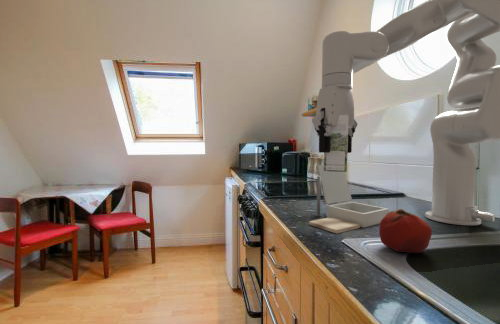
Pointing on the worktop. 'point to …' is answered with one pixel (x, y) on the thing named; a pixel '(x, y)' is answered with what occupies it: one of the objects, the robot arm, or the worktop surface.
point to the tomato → (404, 232)
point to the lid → (334, 186)
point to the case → (353, 211)
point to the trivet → (334, 225)
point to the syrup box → (337, 146)
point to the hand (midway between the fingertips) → (335, 152)
